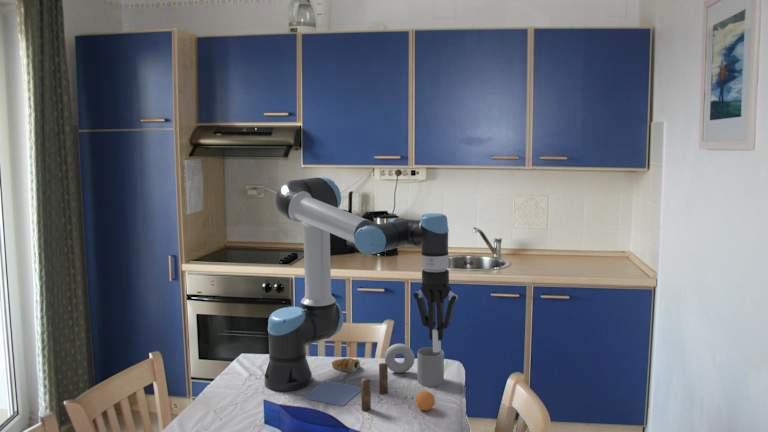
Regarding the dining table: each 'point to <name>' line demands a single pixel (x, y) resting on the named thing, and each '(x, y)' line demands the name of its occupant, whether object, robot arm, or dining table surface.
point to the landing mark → (333, 393)
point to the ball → (425, 400)
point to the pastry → (346, 364)
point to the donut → (403, 365)
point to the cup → (430, 367)
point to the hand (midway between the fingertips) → (436, 350)
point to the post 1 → (365, 394)
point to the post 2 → (383, 378)
